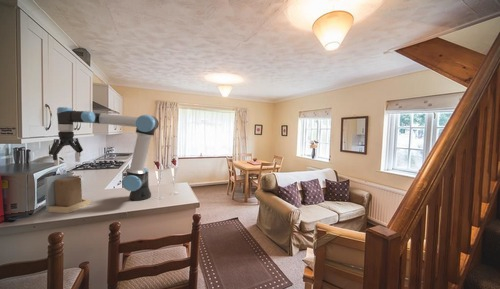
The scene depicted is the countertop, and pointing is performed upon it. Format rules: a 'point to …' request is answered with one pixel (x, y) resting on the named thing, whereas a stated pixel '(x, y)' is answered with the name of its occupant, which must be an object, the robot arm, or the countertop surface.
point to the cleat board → (51, 196)
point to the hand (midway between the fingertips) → (67, 163)
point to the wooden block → (68, 191)
